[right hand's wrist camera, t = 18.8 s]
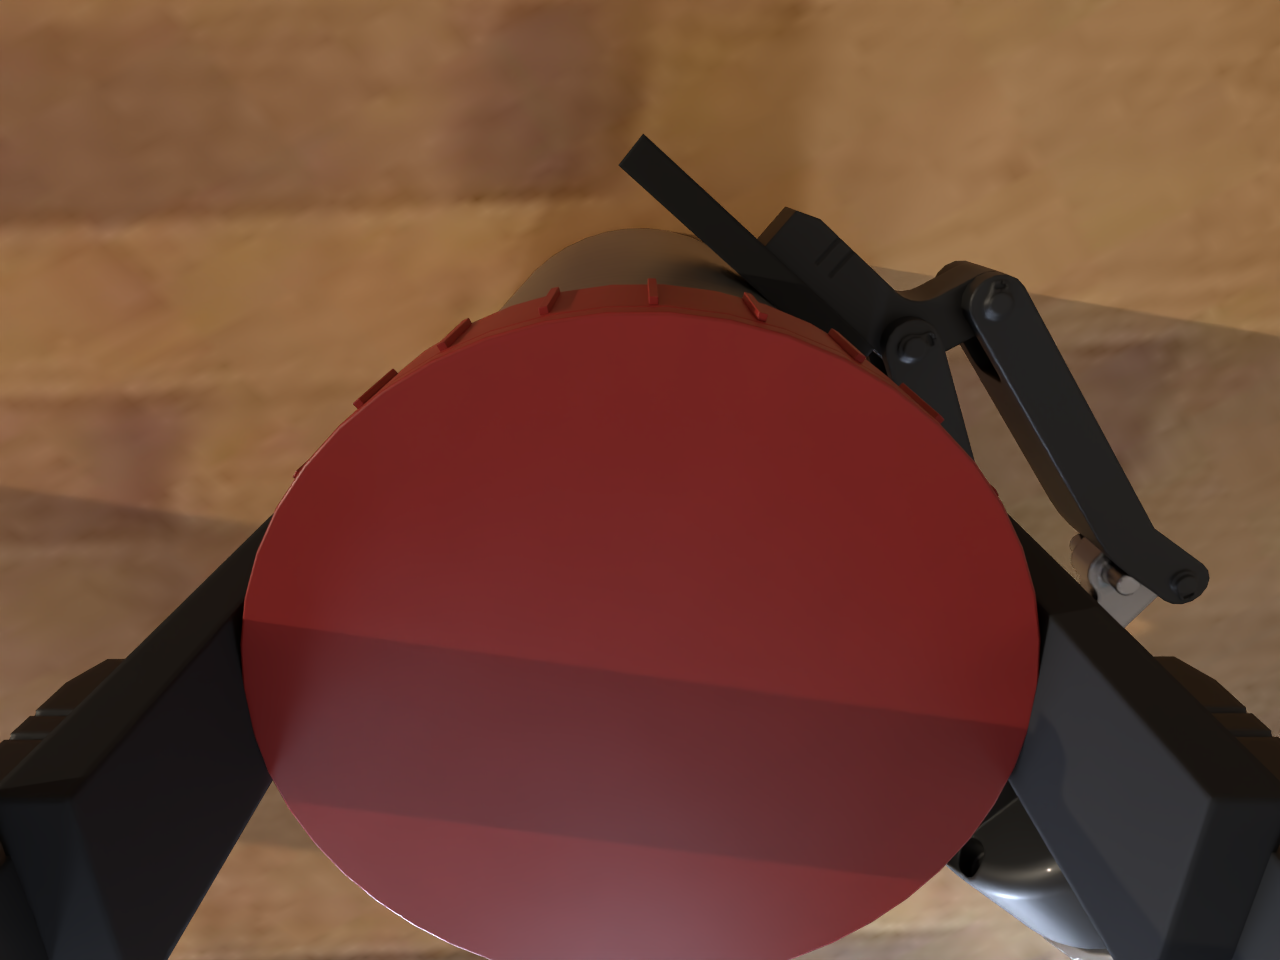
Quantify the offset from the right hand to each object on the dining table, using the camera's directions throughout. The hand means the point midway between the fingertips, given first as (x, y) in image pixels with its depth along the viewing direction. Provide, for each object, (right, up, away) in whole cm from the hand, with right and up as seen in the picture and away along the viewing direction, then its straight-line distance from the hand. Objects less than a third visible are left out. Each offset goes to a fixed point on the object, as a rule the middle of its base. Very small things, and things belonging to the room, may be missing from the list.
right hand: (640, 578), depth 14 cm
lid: (0, -1, -3) cm, 3 cm away
